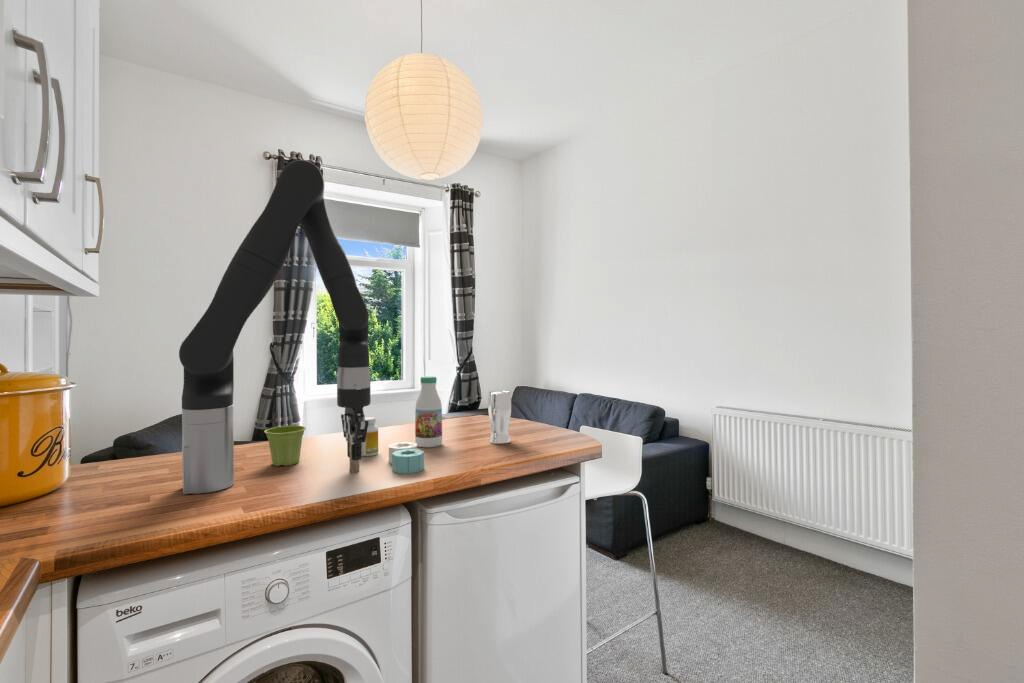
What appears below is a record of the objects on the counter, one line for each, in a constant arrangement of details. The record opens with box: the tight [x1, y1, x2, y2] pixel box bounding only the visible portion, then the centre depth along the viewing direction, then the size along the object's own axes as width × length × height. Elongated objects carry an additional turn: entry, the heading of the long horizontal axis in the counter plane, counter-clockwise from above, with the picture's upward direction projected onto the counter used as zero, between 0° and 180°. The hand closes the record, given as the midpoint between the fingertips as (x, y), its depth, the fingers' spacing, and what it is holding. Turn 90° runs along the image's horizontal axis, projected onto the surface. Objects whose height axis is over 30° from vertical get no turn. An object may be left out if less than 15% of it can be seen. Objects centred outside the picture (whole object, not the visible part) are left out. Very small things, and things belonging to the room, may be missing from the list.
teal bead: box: [391, 448, 425, 474], centre depth 116 cm, size 7×7×4 cm
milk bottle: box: [414, 375, 443, 448], centre depth 141 cm, size 8×8×20 cm
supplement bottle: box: [361, 416, 379, 457], centre depth 130 cm, size 5×5×10 cm
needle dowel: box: [349, 430, 360, 473], centre depth 114 cm, size 2×2×11 cm
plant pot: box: [263, 425, 306, 467], centre depth 121 cm, size 9×9×9 cm
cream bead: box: [388, 441, 418, 465], centre depth 124 cm, size 7×7×4 cm
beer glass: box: [487, 390, 512, 445], centre depth 144 cm, size 7×7×15 cm
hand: (354, 458), depth 114 cm, fingers open, 2 cm apart
